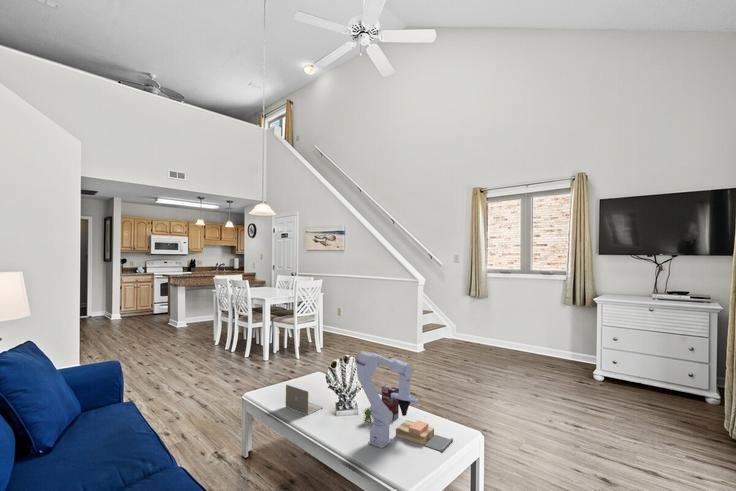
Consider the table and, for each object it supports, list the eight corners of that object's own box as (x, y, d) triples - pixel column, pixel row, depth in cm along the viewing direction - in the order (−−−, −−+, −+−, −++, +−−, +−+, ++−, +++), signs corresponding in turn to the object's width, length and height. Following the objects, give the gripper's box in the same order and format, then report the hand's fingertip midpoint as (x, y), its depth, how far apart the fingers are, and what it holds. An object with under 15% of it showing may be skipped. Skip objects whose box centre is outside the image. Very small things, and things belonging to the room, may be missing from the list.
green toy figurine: (366, 415, 201) (366, 401, 201) (384, 422, 193) (384, 407, 193) (351, 423, 191) (352, 408, 192) (369, 430, 184) (369, 415, 184)
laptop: (323, 408, 210) (323, 385, 210) (307, 416, 200) (308, 391, 200) (301, 400, 221) (301, 378, 221) (285, 407, 210) (285, 384, 211)
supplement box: (380, 416, 200) (381, 386, 200) (386, 413, 203) (386, 384, 204) (393, 421, 194) (394, 390, 194) (399, 418, 198) (399, 388, 198)
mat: (442, 452, 164) (442, 449, 164) (424, 445, 170) (424, 443, 170) (452, 441, 174) (453, 438, 174) (434, 435, 179) (435, 432, 179)
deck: (423, 445, 170) (423, 437, 170) (395, 435, 179) (395, 428, 179) (433, 435, 179) (434, 428, 179) (406, 427, 188) (406, 420, 188)
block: (420, 435, 172) (420, 430, 172) (408, 431, 176) (408, 427, 176) (428, 427, 180) (428, 423, 180) (417, 424, 183) (417, 420, 183)
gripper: (421, 388, 182) (421, 415, 182) (395, 382, 190) (395, 408, 190) (414, 392, 176) (414, 421, 176) (388, 386, 184) (388, 413, 184)
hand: (404, 415), depth 183 cm, fingers closed
